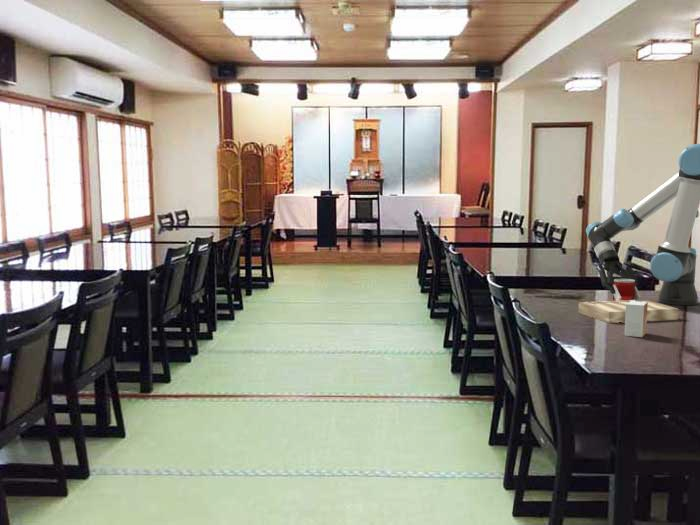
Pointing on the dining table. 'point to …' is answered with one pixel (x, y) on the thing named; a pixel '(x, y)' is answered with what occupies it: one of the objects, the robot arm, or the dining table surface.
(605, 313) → the maple plank
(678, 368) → the dining table surface
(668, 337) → the dining table surface
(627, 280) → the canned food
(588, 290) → the dining table surface
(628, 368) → the dining table surface
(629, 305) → the small box
